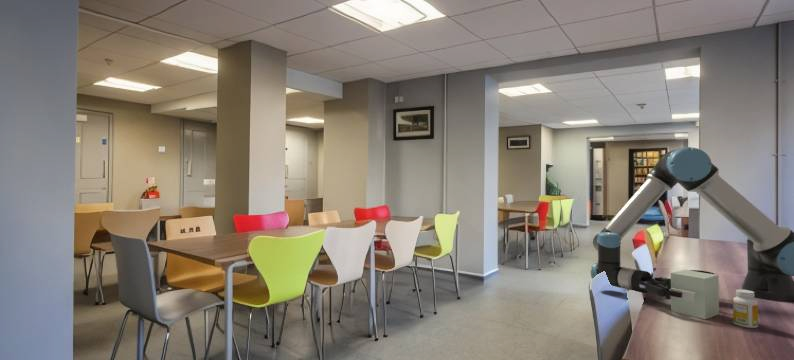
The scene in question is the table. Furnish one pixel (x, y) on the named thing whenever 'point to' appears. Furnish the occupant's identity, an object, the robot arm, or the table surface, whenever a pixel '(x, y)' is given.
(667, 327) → the table surface
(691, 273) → the cover
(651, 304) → the table surface
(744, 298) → the supplement bottle
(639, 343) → the table surface
